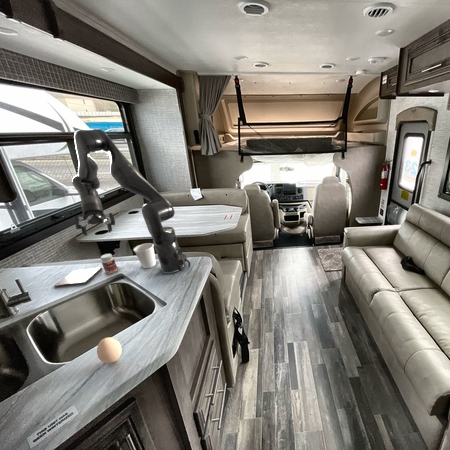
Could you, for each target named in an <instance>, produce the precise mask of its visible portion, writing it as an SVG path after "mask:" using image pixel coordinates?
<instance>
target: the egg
mask: <svg viewBox="0 0 450 450" xmlns="http://www.w3.org/2000/svg"><path fill="white" fill-rule="evenodd" d="M122 348H123V347H122V345H121V343H120V341H118V340H117V339H116V338H113V337H104V338H102V339H101V340H100V341H99V343H98V344H97V348H96V354H97V355H96V356H97V358H98V359H99V360H100V362H102V363H104V364H113V363H115V362H117V361H118V360H119V359H120V357H121V355H122V353H123V349H122Z"/></svg>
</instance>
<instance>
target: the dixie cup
mask: <svg viewBox="0 0 450 450" xmlns="http://www.w3.org/2000/svg"><path fill="white" fill-rule="evenodd" d="M133 252H134V253H135V255H136V257H137V259H138V260H139V262H140V265H141V267H142V268H143V269H150V268H152V267H154V266H156V265H157V261H156V255H155V246H154V243H151V242H149V243H147V242H146V243H142V244H139V245H136V246H135V247H133Z"/></svg>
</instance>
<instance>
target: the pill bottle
mask: <svg viewBox="0 0 450 450" xmlns="http://www.w3.org/2000/svg"><path fill="white" fill-rule="evenodd" d="M100 260H101V265H102V267H103V270H104V273H105V274H106V275H107V274H110V275H111V274H113V273H115V272H117V271H118V265H117V262H116V260H115V258H114V256H113V255H112V253H106V254H102V255H101V256H100Z"/></svg>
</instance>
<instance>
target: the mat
mask: <svg viewBox="0 0 450 450" xmlns="http://www.w3.org/2000/svg"><path fill="white" fill-rule="evenodd" d="M102 269H103V268H102V267H93V268H83V269H82V268H81V269H74V270H72V271H70V273H69V274H67V275H66V276H65V277H63V278H62V279H61V280H60V281H58V282H56V284H54V285H53V286H54V288H61V287H63V288H64V287H70V286H71V287H72V286H80V285H86V284H87V283H88V282H90V281H91V280H92V279H93V278H94V277H95V276H96V275H97V274H99V272H101V271H102Z"/></svg>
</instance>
